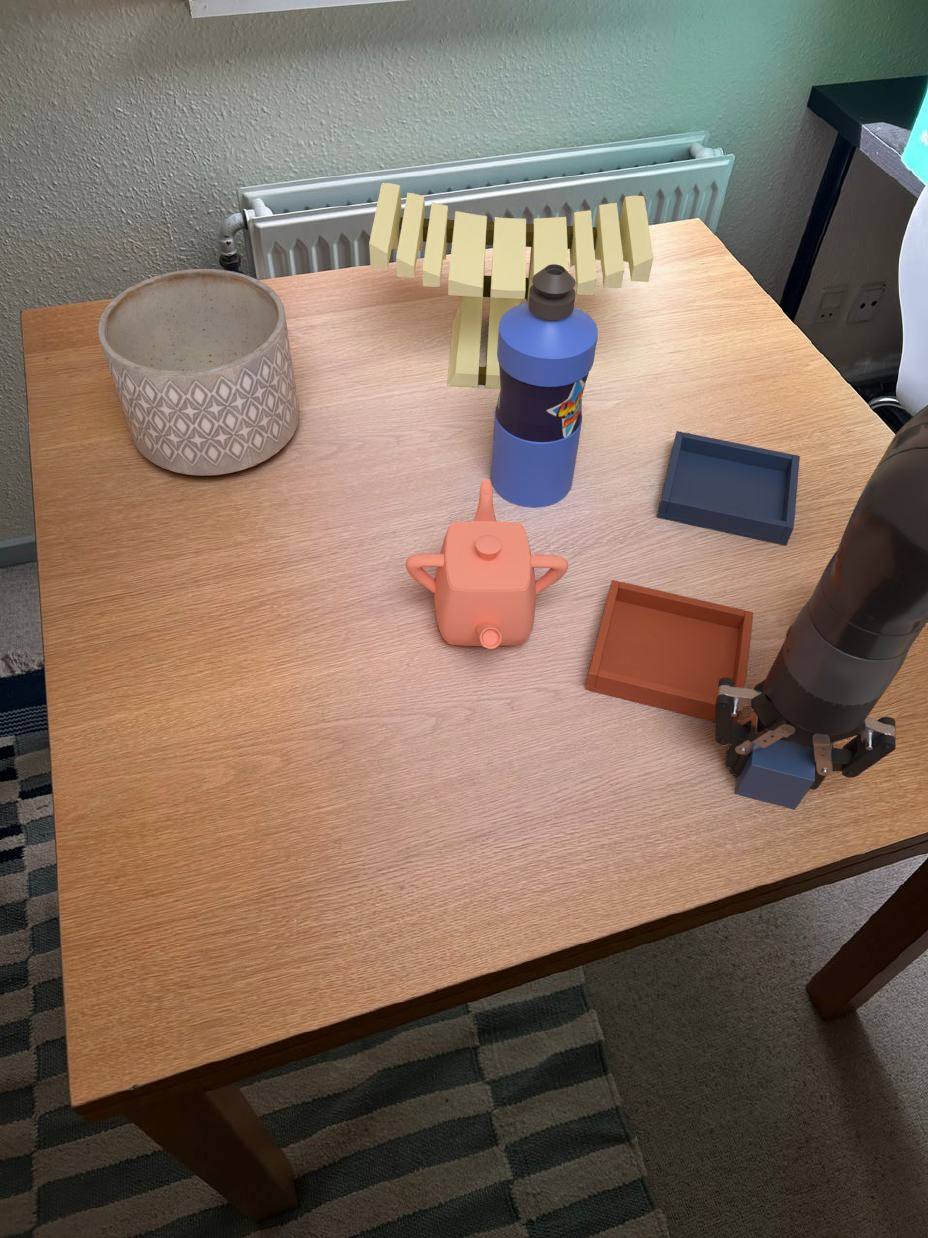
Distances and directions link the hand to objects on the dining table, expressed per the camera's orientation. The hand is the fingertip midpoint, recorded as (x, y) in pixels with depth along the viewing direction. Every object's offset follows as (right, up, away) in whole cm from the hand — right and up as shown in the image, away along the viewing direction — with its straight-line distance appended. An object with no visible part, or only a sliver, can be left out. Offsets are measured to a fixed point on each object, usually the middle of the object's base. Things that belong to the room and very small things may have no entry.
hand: (769, 774), depth 78 cm
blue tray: (+3, +27, +22) cm, 35 cm away
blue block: (0, 0, 0) cm, 0 cm away
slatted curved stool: (-21, +47, +37) cm, 64 cm away
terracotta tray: (-7, +10, +8) cm, 14 cm away
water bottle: (-19, +29, +23) cm, 41 cm away
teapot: (-24, +14, +11) cm, 30 cm away
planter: (-54, +35, +26) cm, 69 cm away
